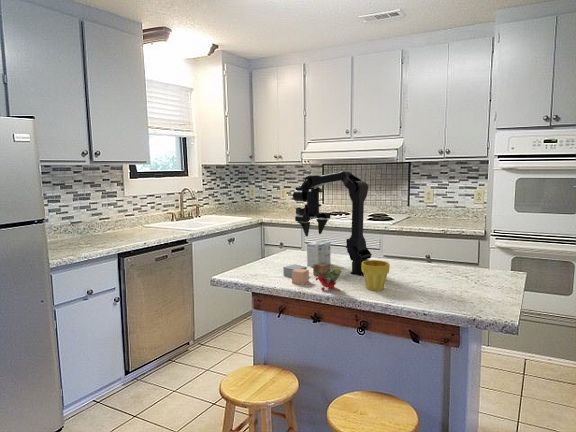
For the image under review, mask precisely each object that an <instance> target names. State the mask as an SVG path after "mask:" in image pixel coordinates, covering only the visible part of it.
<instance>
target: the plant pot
mask: <svg viewBox="0 0 576 432" xmlns="http://www.w3.org/2000/svg"><path fill="white" fill-rule="evenodd" d="M362 272H363V274H364V275H363V277H364V282H365V288H366V289H367V290H370V291H382V290H384V289H385V284H386V281H387V277H388V274H389V273H390V262H388V261H386V260H385V261H384V260H379V259H367V260H366V261H363V262H362Z"/></svg>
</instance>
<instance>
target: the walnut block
mask: <svg viewBox="0 0 576 432" xmlns="http://www.w3.org/2000/svg"><path fill="white" fill-rule="evenodd" d="M312 268H313V269H312V270H313V271H312V272H313V275H314V277H317V276H318V277H319V276H320V277H322V275H323V274H324V272H327V271H328V272H331V263H330V264H327V263H322V262H320V263H316V264H313V267H312ZM318 274H319V275H318ZM313 275H312V276H313ZM318 277H317V278H318Z"/></svg>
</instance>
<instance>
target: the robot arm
mask: <svg viewBox="0 0 576 432" xmlns="http://www.w3.org/2000/svg"><path fill="white" fill-rule="evenodd" d="M335 182H336V183H337V182H342V183H343V185H344V187H345V188H346V189H347V190H348V195H349V198H350V201H351V202H352V203H351V204H352V205H351V235H350V238H346V239H345V240H346V247H345V249H346V252H347V254H348V255H349V256H348V257H349V258H350V261H351V271H349V272H350V274H352V275H358V276H361V277H364V274H363V272H362V262H363V261H366V260H371V258H372V256H373V255H372V252H371V251H370V250H369V249H368V247H367V241H366V238H365V236H364V213H365V211H364V209H365V208H364V204H365V200H366V198H367V196H368V193H369V184H368V183H367V182H366V181H364V180H362V179H360V178H359V177H358V176H356V175H354V174H353V173H352V172H350V171H348V170H347V171H346V170H345V171H343V170H342V171H340V172H334V173H329V174H323V175H321V174H319V175H318V174H310V175H308V174H307V175H306V176H305V178H304V181H303V183H302V184H301V186H297V187H295V190H294V191H293V193H292V198H293V201H295V202H299V203H300V202H301V203H302V202H303V203H305V202H306V204H304V207H303V208H302V207H299V206H298V207H296V208H295V214H296V216H295V219H294V221H295V222H297V224H299V225H300V226H301V228H302V231H303V234H304V236H305V237H308V236H309V232H310V226H311V222H310V221H311V220H313V219H316V222H317V227H318V228H317V229H318V235H322V233H323V230H324V229H325V226H326V225H327V223H328V221H329V219H331V214H330V212H326V211H323V212H322V211H320V207H321V206H322V204H321V203H320V193H323V192H324V191H323V189H321V188H320V187H321V186H324V185H325V184H330V183H335Z"/></svg>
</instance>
